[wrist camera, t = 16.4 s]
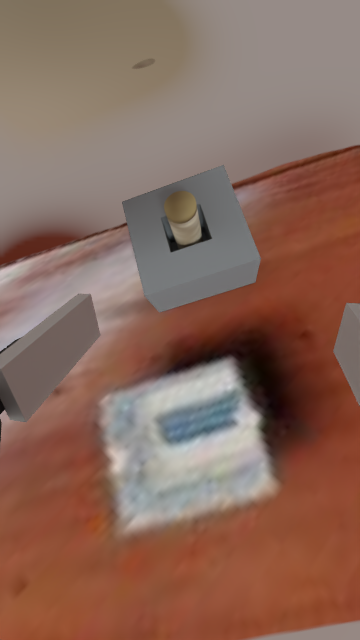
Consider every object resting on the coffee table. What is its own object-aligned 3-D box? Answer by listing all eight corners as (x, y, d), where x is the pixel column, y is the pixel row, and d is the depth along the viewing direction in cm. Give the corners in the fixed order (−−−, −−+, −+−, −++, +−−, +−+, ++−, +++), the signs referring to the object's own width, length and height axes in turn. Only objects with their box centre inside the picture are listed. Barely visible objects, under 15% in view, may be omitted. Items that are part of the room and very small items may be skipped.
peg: (200, 238, 45) (190, 186, 34) (208, 258, 44) (200, 212, 32) (178, 246, 45) (160, 197, 34) (184, 266, 44) (168, 223, 33)
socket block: (224, 201, 47) (223, 165, 40) (255, 282, 42) (260, 258, 35) (138, 231, 49) (122, 201, 41) (159, 312, 44) (144, 295, 36)
